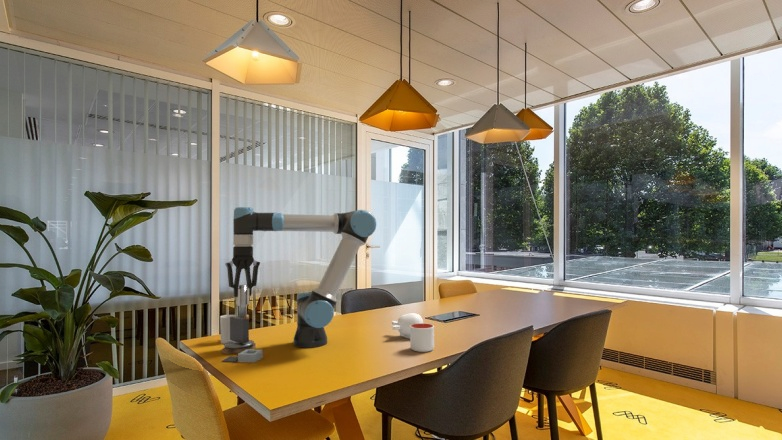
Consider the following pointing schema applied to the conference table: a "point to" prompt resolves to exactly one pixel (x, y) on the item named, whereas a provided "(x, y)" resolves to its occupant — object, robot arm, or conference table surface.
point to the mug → (225, 328)
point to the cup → (422, 337)
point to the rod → (243, 302)
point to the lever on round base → (239, 333)
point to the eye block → (250, 355)
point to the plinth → (236, 350)
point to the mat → (230, 359)
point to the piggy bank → (406, 323)
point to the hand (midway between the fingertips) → (242, 304)
